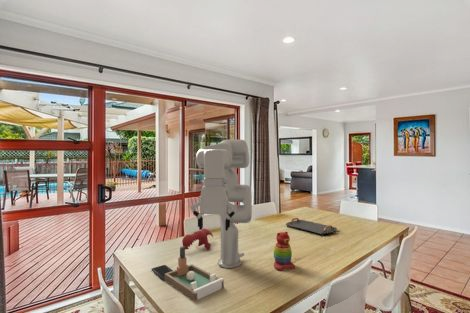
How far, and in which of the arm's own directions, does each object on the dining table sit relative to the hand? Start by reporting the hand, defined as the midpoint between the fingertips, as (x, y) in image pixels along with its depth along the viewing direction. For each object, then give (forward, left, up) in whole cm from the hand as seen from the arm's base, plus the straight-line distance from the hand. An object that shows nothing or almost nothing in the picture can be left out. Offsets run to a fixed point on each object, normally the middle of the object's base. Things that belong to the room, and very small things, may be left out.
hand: (213, 229), depth 96 cm
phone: (-3, -42, -32) cm, 53 cm away
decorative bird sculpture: (-37, -57, -31) cm, 75 cm away
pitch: (-7, -24, -31) cm, 40 cm away
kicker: (-7, -32, -30) cm, 44 cm away
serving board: (-126, -32, -32) cm, 134 cm away
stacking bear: (-52, -6, -31) cm, 61 cm away
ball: (-7, -25, -28) cm, 39 cm away
